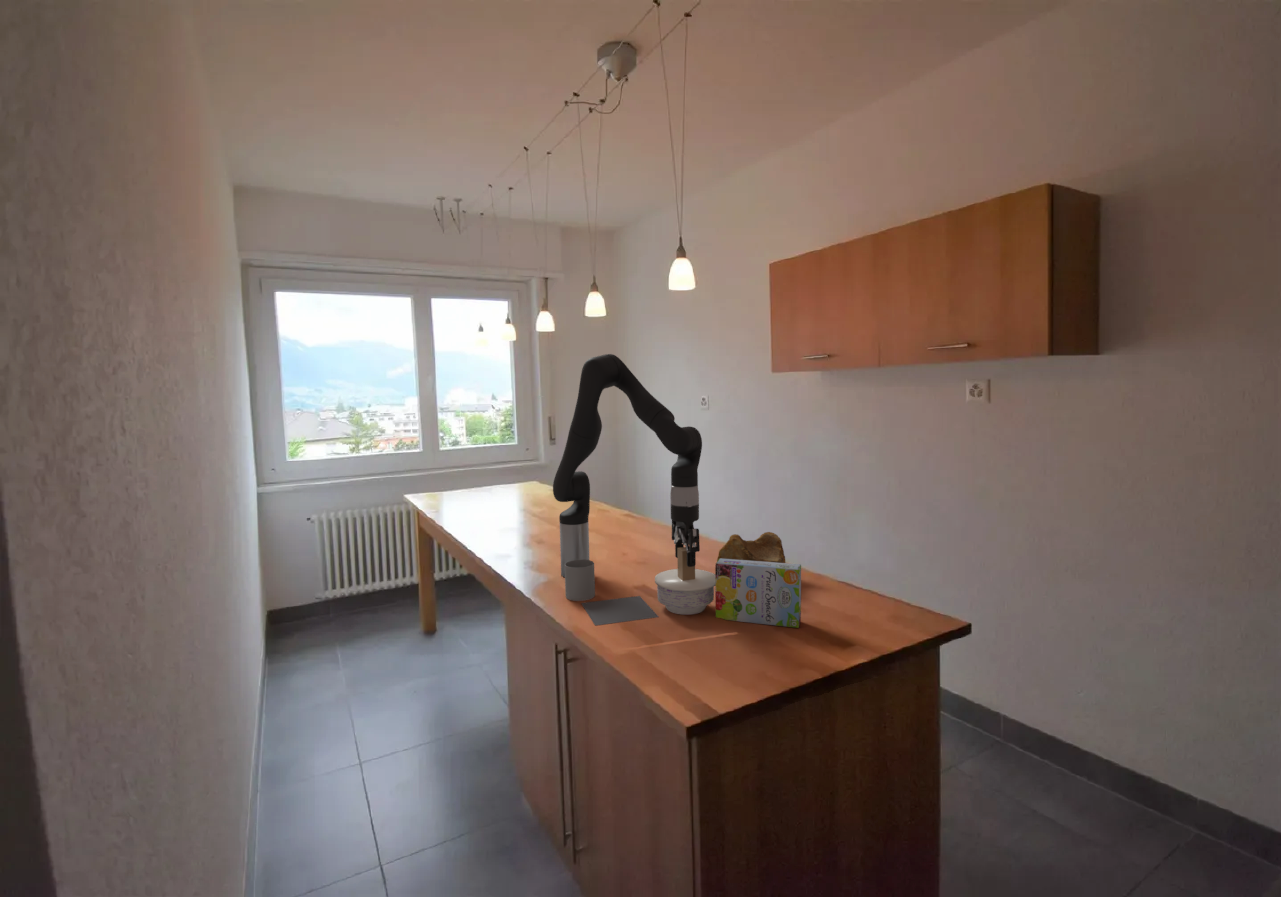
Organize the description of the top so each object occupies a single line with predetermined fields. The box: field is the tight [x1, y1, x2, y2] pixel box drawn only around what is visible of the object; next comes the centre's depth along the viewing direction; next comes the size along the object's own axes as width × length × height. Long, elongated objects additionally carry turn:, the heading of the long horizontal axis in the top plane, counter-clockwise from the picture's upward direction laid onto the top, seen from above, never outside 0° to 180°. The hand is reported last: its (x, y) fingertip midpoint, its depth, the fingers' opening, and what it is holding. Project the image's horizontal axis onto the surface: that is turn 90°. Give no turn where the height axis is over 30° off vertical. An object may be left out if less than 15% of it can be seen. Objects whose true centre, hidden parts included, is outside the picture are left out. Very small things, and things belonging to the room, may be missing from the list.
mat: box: [580, 595, 660, 627], centre depth 165 cm, size 17×17×1 cm
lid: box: [654, 546, 715, 591], centre depth 165 cm, size 17×17×9 cm
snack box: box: [714, 558, 802, 629], centre depth 157 cm, size 21×6×15 cm, turn 70°
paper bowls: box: [656, 584, 715, 616], centre depth 166 cm, size 15×15×8 cm
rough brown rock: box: [716, 531, 786, 563], centre depth 185 cm, size 23×17×15 cm
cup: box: [564, 559, 596, 602], centre depth 176 cm, size 8×8×10 cm
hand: (685, 561), depth 165 cm, fingers open, 8 cm apart
